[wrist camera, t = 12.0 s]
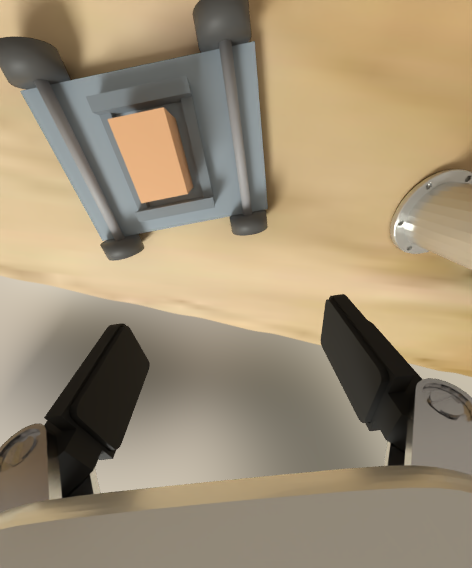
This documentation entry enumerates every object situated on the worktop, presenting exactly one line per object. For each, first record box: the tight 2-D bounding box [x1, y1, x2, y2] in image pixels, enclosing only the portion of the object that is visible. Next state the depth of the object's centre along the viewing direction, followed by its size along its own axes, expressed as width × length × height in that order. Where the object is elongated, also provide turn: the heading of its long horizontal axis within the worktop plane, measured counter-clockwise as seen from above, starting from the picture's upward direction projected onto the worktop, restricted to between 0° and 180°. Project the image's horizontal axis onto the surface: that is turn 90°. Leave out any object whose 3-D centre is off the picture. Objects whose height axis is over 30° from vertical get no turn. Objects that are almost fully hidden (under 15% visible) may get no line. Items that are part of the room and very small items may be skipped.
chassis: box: [0, 0, 268, 260], centre depth 23 cm, size 24×20×5 cm
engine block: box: [107, 107, 193, 203], centre depth 22 cm, size 5×7×6 cm
